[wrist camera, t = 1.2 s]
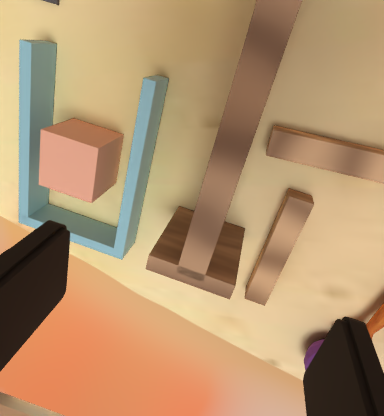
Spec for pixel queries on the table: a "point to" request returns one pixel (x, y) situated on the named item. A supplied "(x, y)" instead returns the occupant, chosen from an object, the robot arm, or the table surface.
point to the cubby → (43, 117)
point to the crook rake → (227, 163)
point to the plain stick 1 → (278, 245)
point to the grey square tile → (53, 1)
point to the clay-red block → (79, 159)
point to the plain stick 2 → (327, 153)
